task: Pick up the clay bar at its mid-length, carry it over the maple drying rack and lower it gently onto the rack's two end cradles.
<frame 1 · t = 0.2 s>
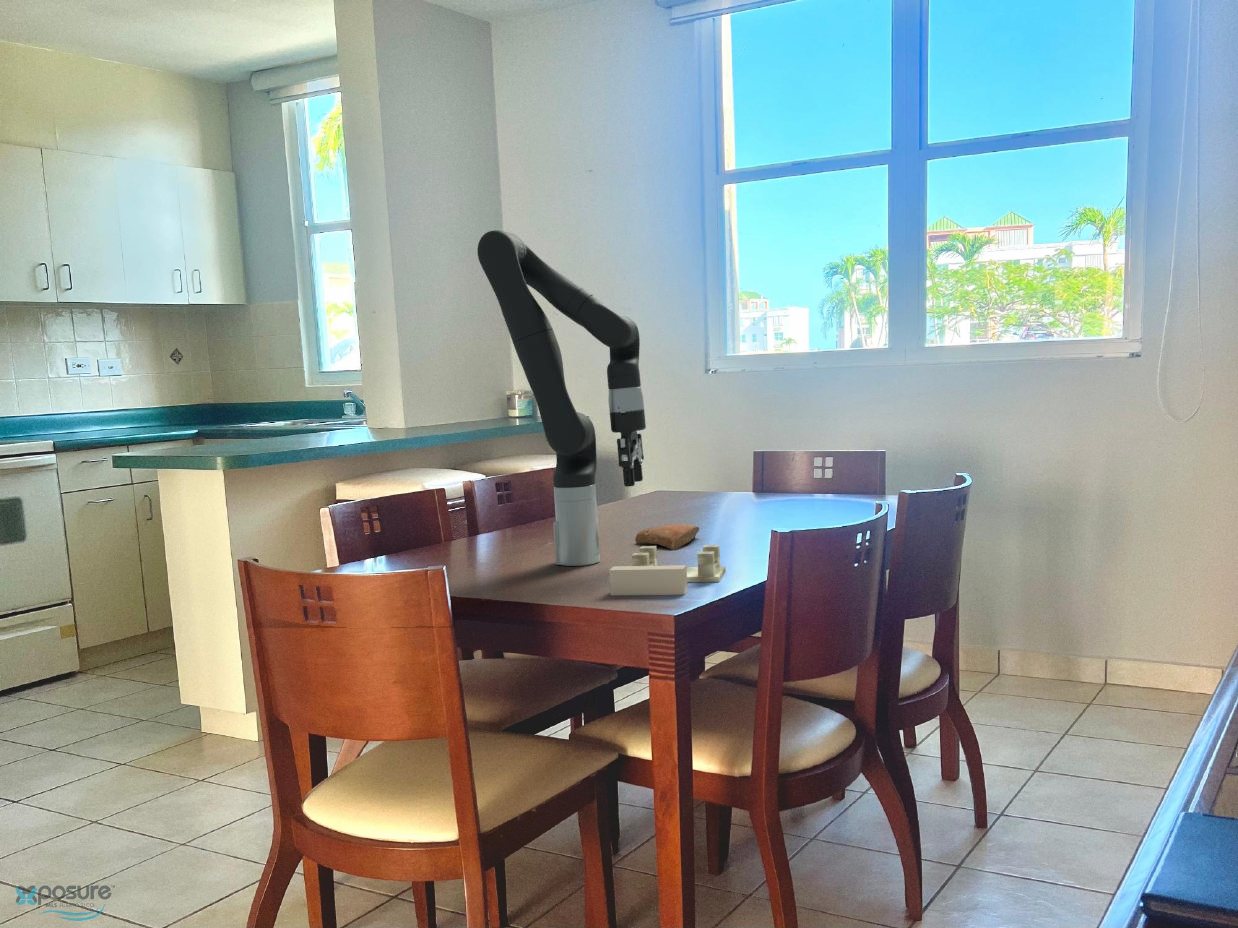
hand: (633, 483, 222), 17 cm above the table, tool pointing down, fingers open, 8 cm apart
ceramic shard: (676, 544, 247), on the table
clay bar: (649, 593, 192), on the table
rack: (677, 576, 205), on the table
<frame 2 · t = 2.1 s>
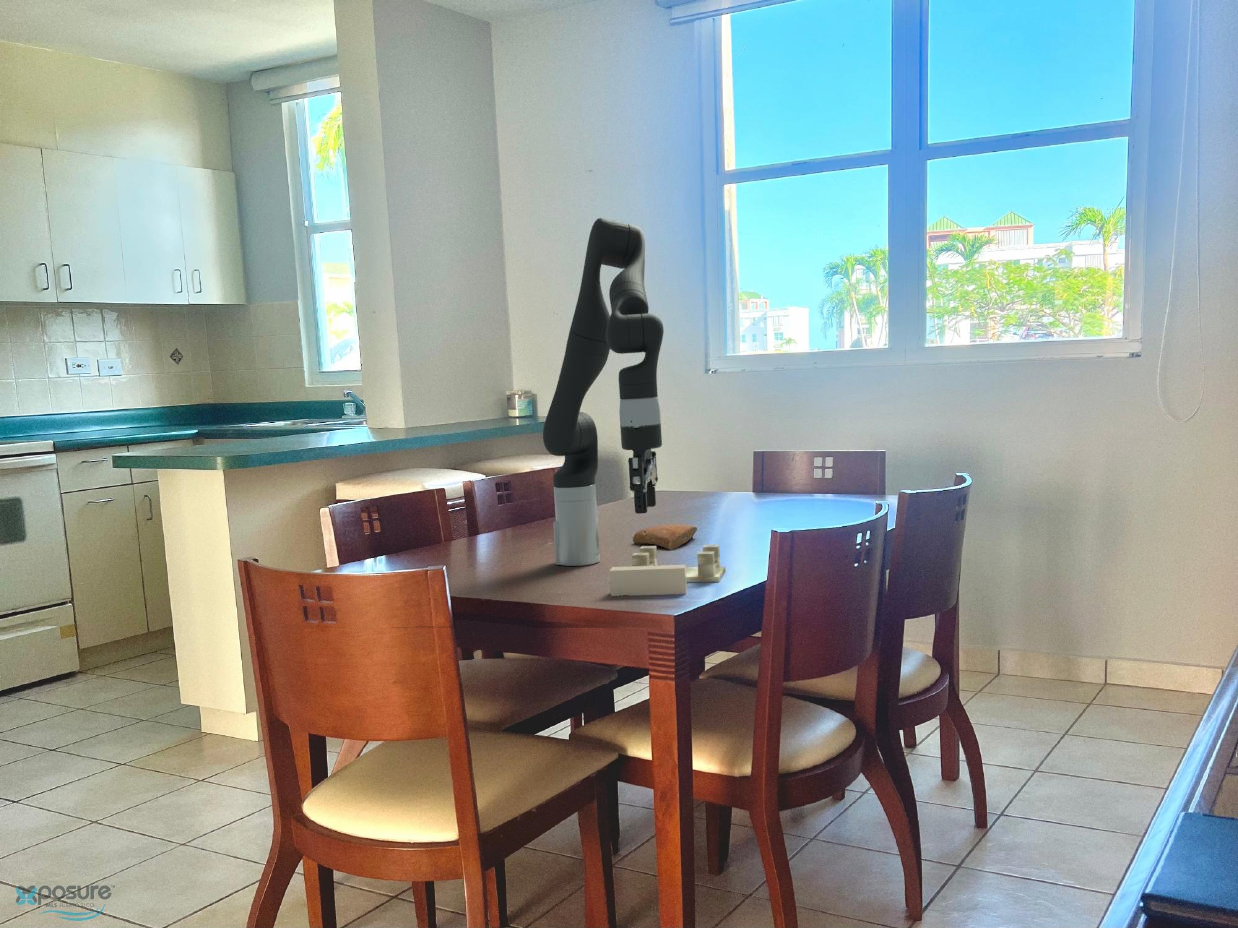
hand: (645, 509, 191), 16 cm above the table, tool pointing down, fingers open, 8 cm apart
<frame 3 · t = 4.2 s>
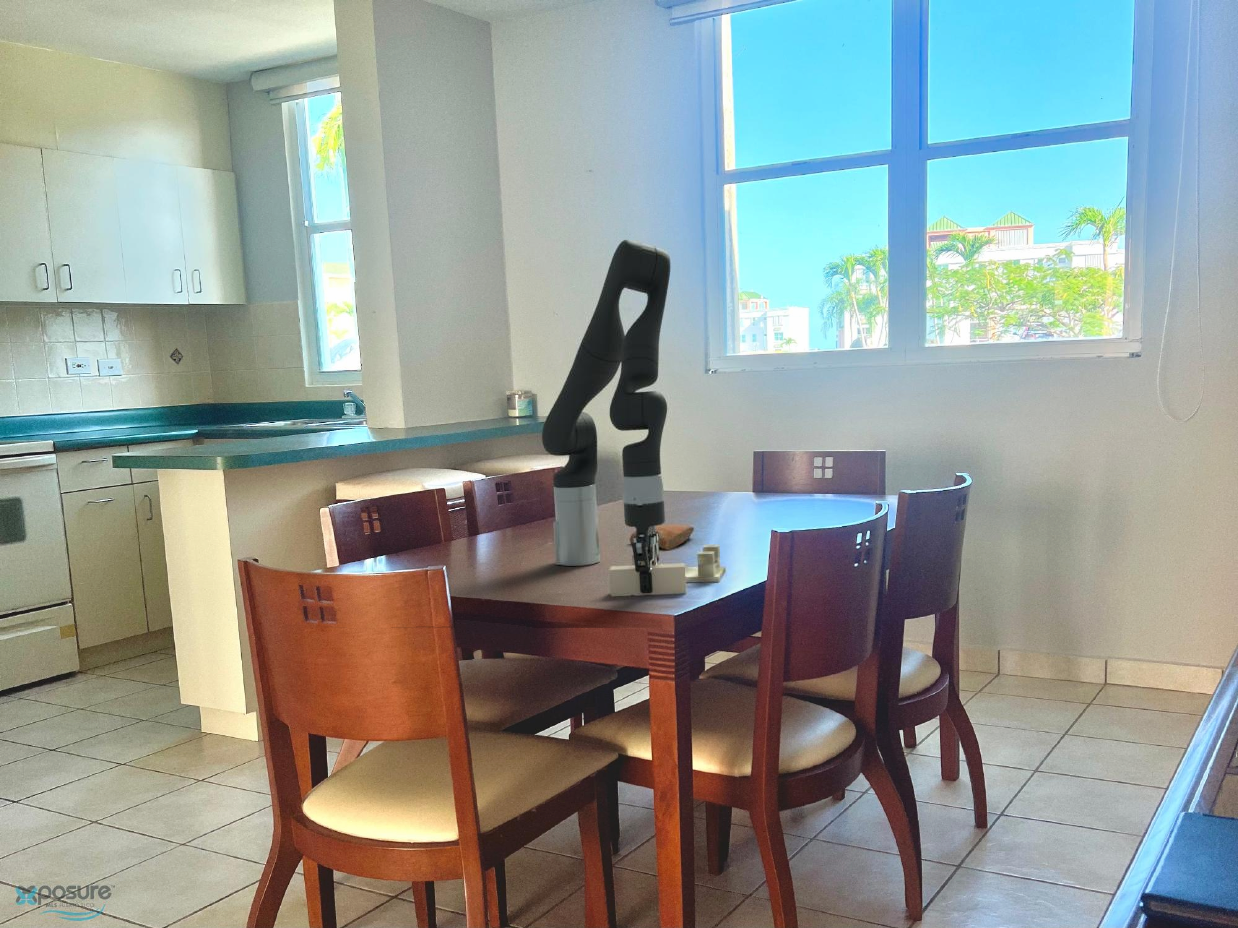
hand: (648, 589, 192), 1 cm above the table, tool pointing down, fingers closed on clay bar, 4 cm apart
clay bar: (648, 592, 192), on the table, touching gripper
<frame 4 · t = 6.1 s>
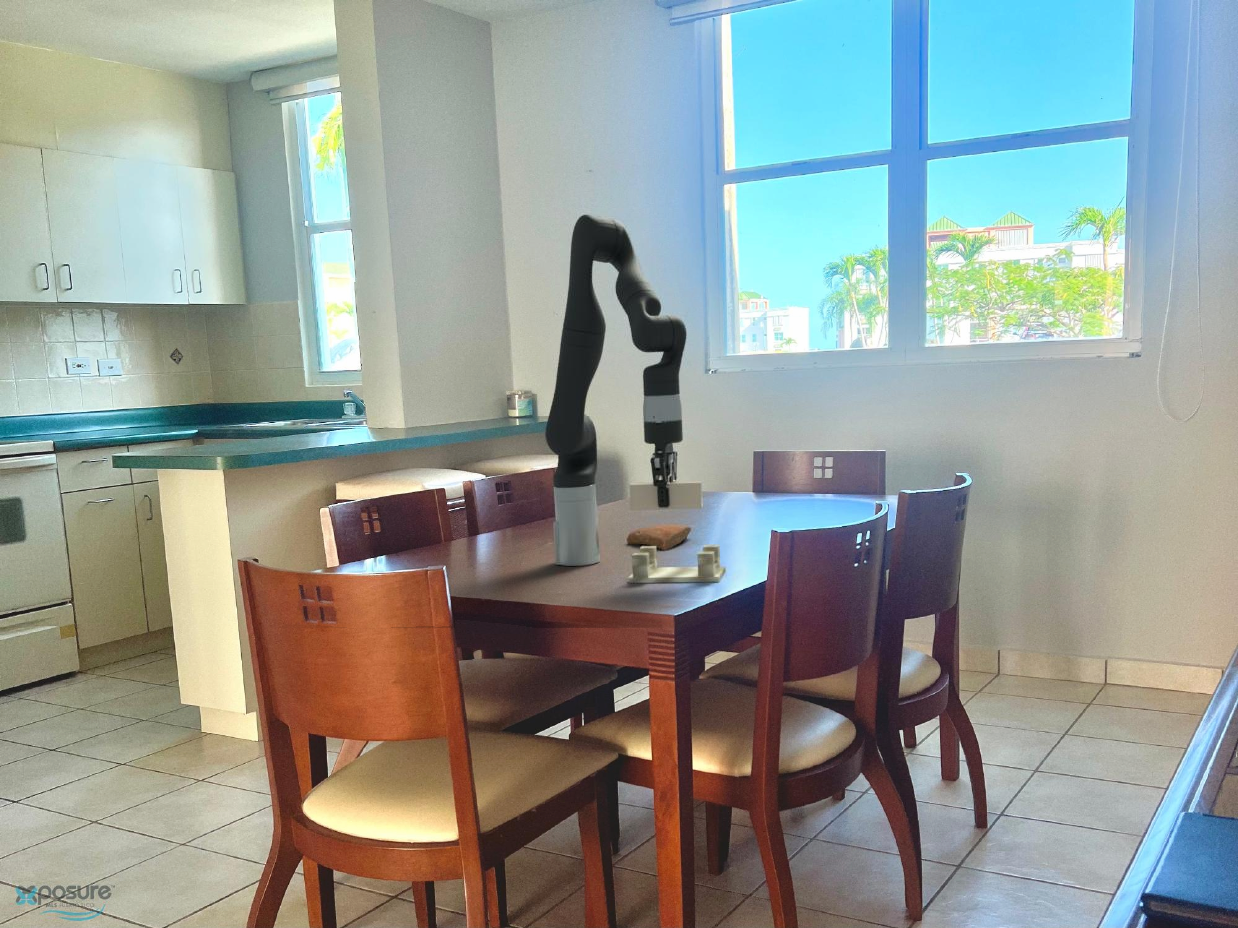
hand: (666, 505, 202), 15 cm above the table, tool pointing down, fingers closed on clay bar, 4 cm apart
clay bar: (666, 508, 202), point 14 cm above the table, touching gripper
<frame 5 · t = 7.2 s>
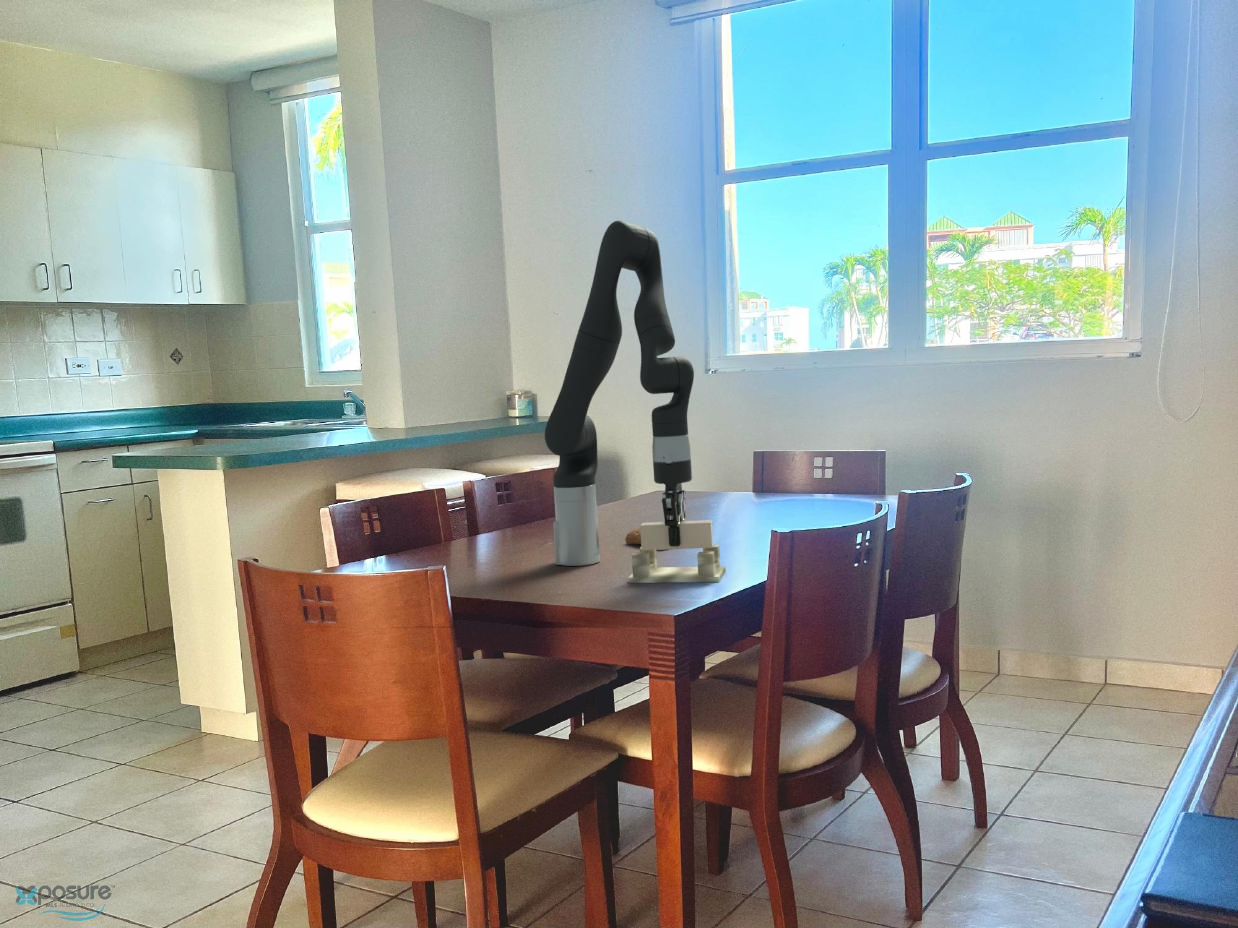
hand: (676, 543, 205), 7 cm above the table, tool pointing down, fingers closed on clay bar, 3 cm apart
clay bar: (677, 547, 205), point 6 cm above the table, touching gripper
when the fingers open (4 cm above the table, at t = 8.0 s): clay bar stays where it is, resting on rack.
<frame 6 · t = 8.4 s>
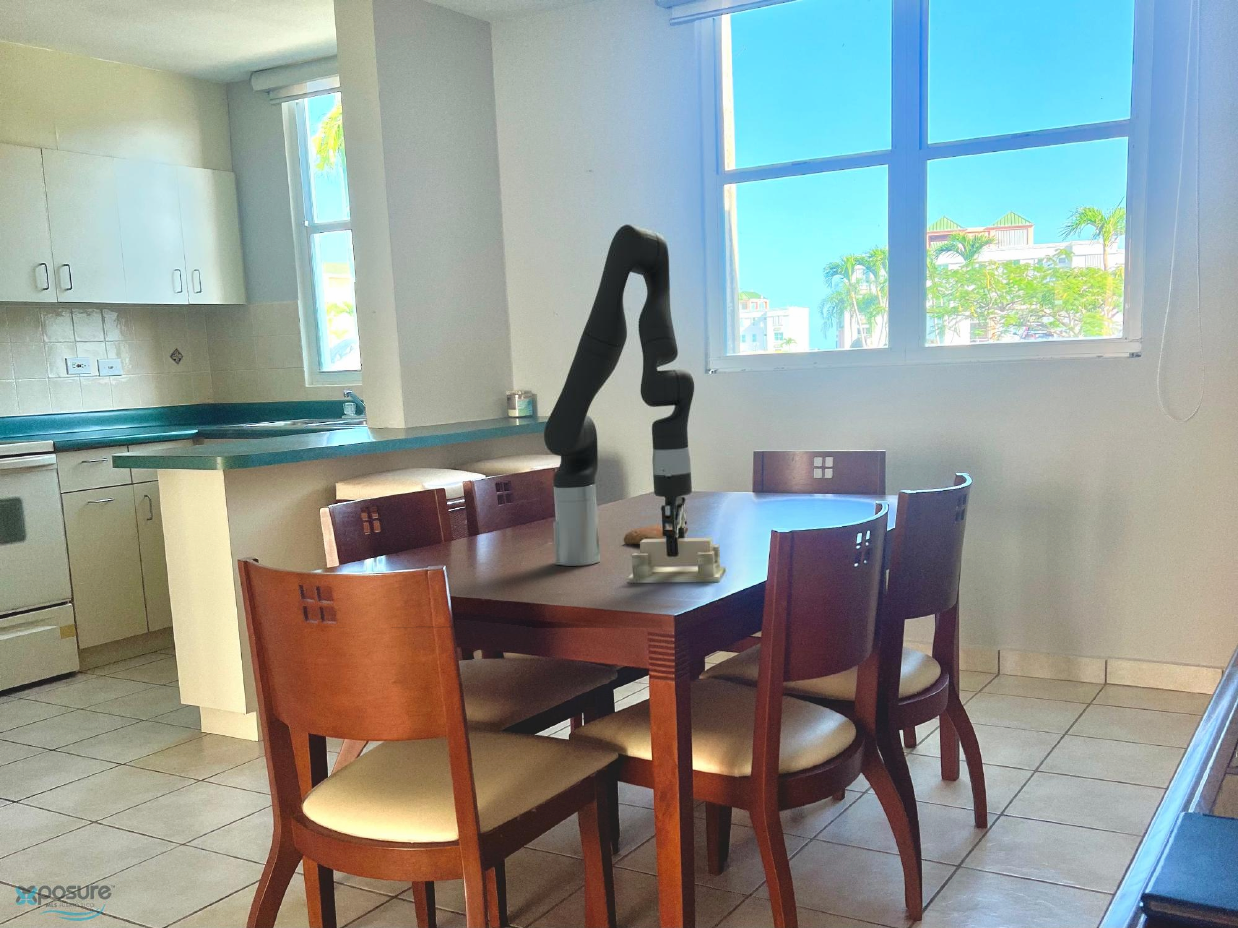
hand: (676, 552, 205), 5 cm above the table, tool pointing down, fingers open, 7 cm apart
clay bar: (677, 564, 205), point 2 cm above the table, touching rack
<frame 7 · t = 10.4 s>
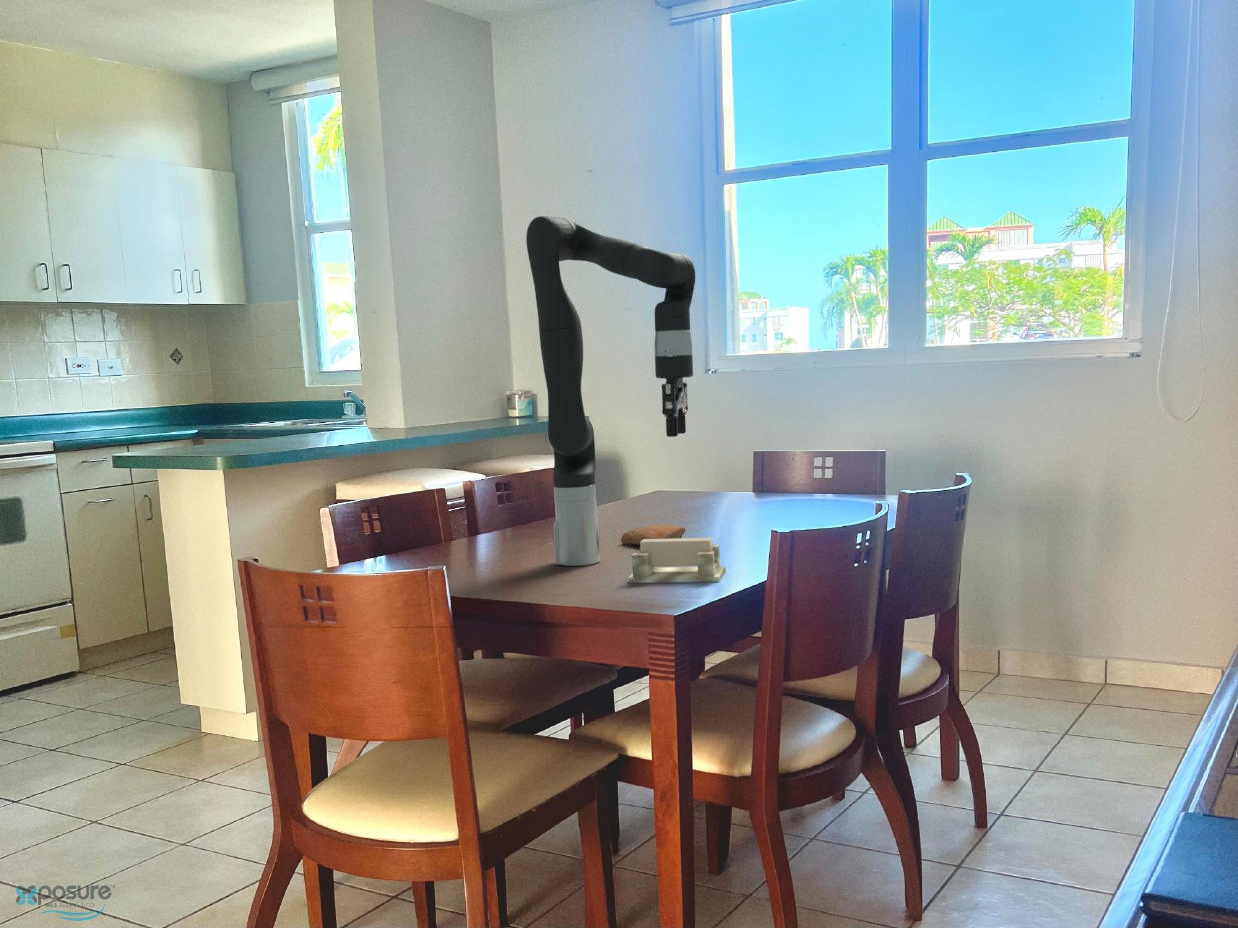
hand: (676, 435, 206), 28 cm above the table, tool pointing down, fingers open, 8 cm apart
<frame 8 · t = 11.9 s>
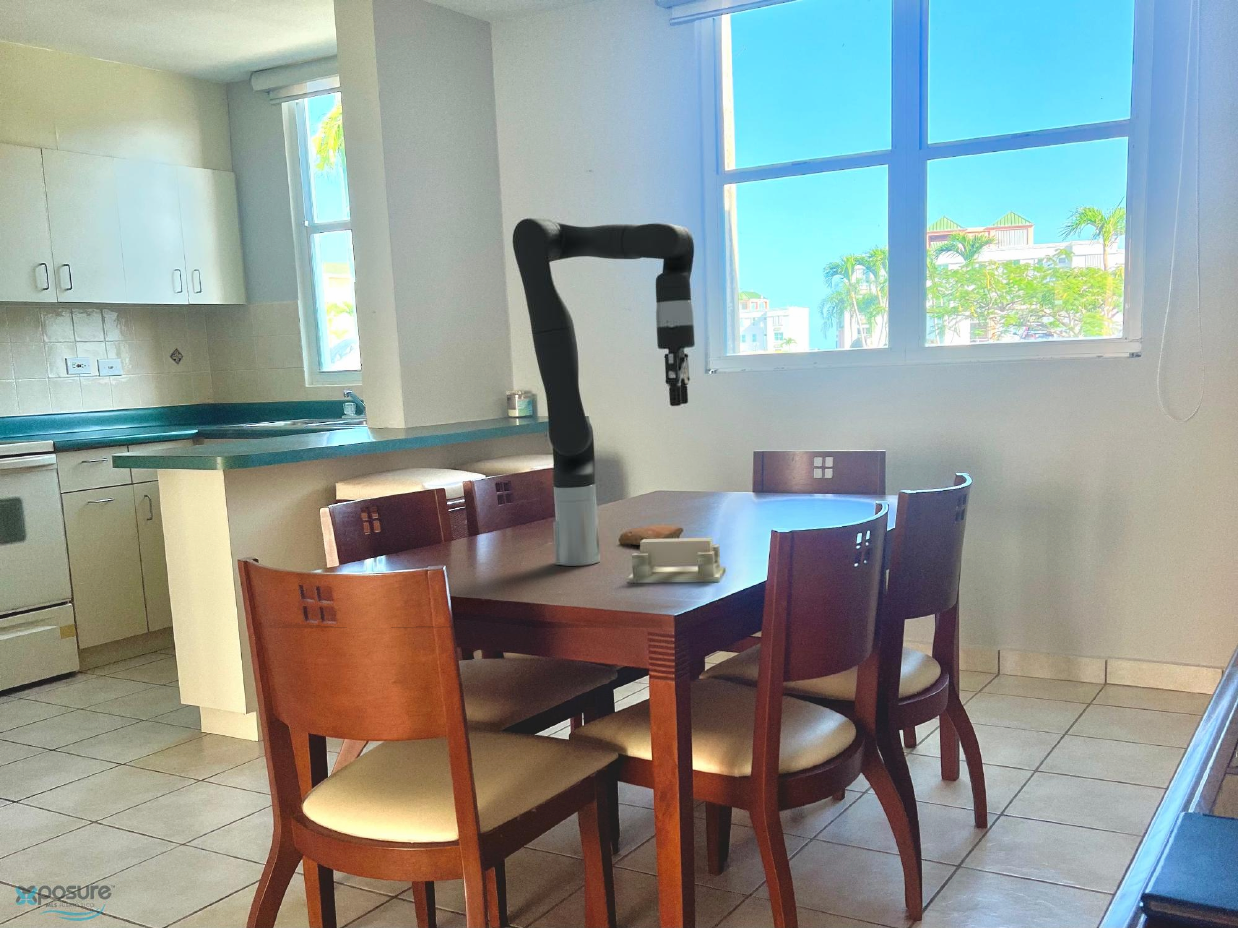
hand: (679, 404, 209), 34 cm above the table, tool pointing down, fingers open, 8 cm apart
at the end: clay bar 0.1 cm off-centre on the rack, point 2.5 cm above the rack's base; clay bar tilted 0°; the gripper is holding nothing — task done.
